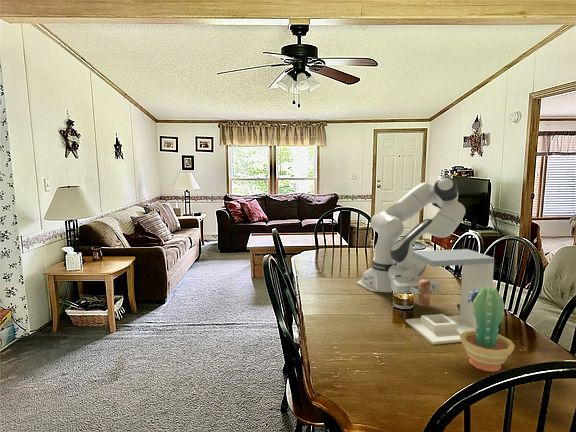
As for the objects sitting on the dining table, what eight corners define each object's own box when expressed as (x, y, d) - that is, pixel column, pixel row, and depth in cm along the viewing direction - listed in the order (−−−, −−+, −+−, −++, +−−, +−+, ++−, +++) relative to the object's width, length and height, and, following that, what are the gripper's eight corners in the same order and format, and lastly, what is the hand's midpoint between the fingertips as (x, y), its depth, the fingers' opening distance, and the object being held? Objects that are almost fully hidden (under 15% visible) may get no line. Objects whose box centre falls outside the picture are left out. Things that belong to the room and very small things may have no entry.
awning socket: (405, 321, 151) (408, 249, 147) (459, 317, 155) (463, 247, 151) (432, 344, 132) (436, 262, 128) (492, 339, 135) (498, 259, 132)
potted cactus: (494, 351, 126) (499, 280, 123) (524, 376, 111) (531, 296, 108) (450, 352, 126) (453, 281, 123) (474, 378, 111) (479, 297, 107)
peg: (417, 305, 154) (418, 282, 153) (419, 301, 158) (420, 279, 156) (428, 307, 152) (429, 283, 150) (430, 303, 156) (431, 280, 154)
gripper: (430, 287, 169) (448, 297, 155) (388, 290, 166) (402, 301, 152) (430, 273, 168) (448, 283, 154) (388, 276, 165) (403, 286, 151)
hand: (425, 292), depth 153 cm, fingers closed on peg, 4 cm apart
